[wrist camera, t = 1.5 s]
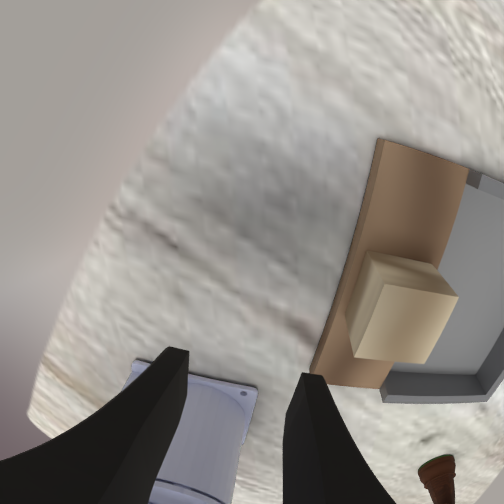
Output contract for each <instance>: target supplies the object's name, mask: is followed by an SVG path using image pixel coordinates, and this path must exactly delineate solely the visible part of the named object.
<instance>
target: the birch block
mask: <svg viewBox="0 0 504 504" xmlns="http://www.w3.org/2000/svg"><path fill="white" fill-rule="evenodd" d="M458 298H459V297H458V295H457V294H456V293H455V292H454V290H453V289H452V288H451V287H450V285H449V284H448V283H447V282H446V280H445V279H444V278H443V277H442V276H441V274H440V273H439V272H438V271H437V270H436V268H435V267H434V266H433V265H432V264H429V263H424V262H420V261H415V260H411V259H406V258H401V257H397V256H392V255H387V254H383V253H378V252H373V251H368V250H366V254H365V257H364V260H363V263H362V266H361V269H360V272H359V275H358V278H357V281H356V284H355V287H354V290H353V293H352V296H351V299H350V302H349V304H348V307H347V310H346V313H345V315H344V316H345V320H346V324H347V328H348V333H349V337H350V341H351V346H352V350H353V355H354V357H356V358H364V359H373V360H383V361H394V362H405V363H418V364H425V362H426V360H427V358H428V357H429V355H430V353H431V351H432V350H433V348H434V346H435V344H436V342H437V340H438V339H439V337H440V335H441V333H442V331H443V329H444V327H445V325H446V323H447V321H448V319H449V317H450V315H451V313H452V311H453V309H454V307H455V305H456V303H457V300H458Z"/></svg>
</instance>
